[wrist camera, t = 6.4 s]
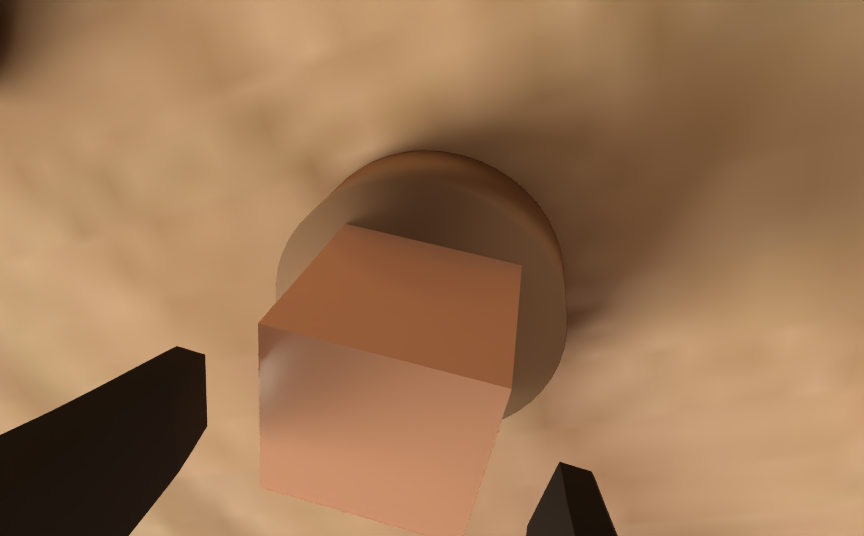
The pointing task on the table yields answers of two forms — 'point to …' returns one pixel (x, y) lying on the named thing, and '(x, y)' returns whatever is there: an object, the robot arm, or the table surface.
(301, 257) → the pedestal
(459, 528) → the cube
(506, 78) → the table surface
